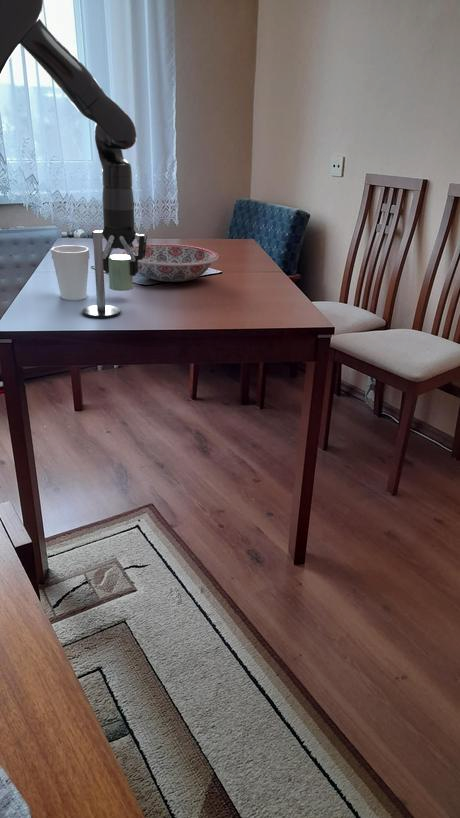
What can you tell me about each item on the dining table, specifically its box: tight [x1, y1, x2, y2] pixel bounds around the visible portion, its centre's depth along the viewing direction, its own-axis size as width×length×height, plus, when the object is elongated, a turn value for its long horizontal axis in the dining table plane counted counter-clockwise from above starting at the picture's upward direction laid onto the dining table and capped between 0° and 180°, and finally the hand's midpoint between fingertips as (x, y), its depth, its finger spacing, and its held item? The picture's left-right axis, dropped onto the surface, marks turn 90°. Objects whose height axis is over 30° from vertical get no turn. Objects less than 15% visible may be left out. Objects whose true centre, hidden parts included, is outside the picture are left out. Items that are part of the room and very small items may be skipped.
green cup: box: [108, 254, 134, 292], centre depth 144 cm, size 6×6×8 cm
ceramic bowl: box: [121, 243, 219, 283], centre depth 170 cm, size 29×29×8 cm
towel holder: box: [82, 230, 121, 320], centre depth 133 cm, size 9×9×20 cm
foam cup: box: [50, 244, 91, 301], centre depth 146 cm, size 10×9×13 cm
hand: (120, 273), depth 144 cm, fingers closed on green cup, 6 cm apart
